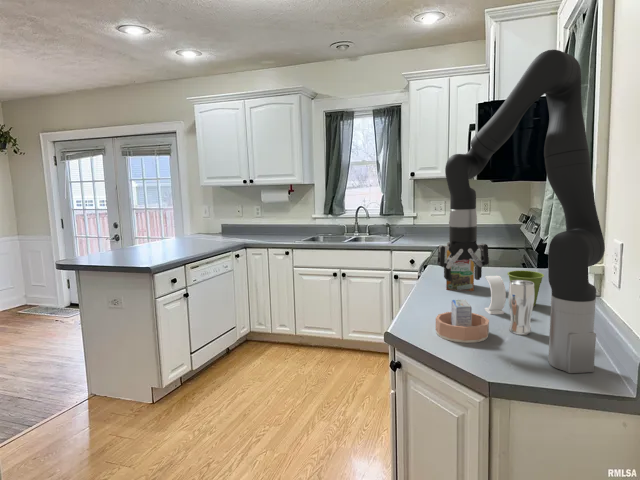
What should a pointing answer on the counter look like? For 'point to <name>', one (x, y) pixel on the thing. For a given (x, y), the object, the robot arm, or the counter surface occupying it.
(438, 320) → the bowl
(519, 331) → the beer glass
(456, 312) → the medicine box
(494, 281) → the headphone stand
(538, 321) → the counter surface
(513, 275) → the plant pot
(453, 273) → the milk carton
